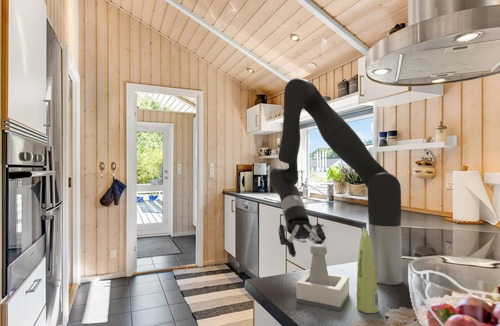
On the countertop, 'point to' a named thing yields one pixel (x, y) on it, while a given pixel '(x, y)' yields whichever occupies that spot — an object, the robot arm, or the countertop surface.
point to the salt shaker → (318, 265)
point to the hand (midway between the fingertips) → (307, 254)
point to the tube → (366, 277)
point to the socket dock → (323, 292)
